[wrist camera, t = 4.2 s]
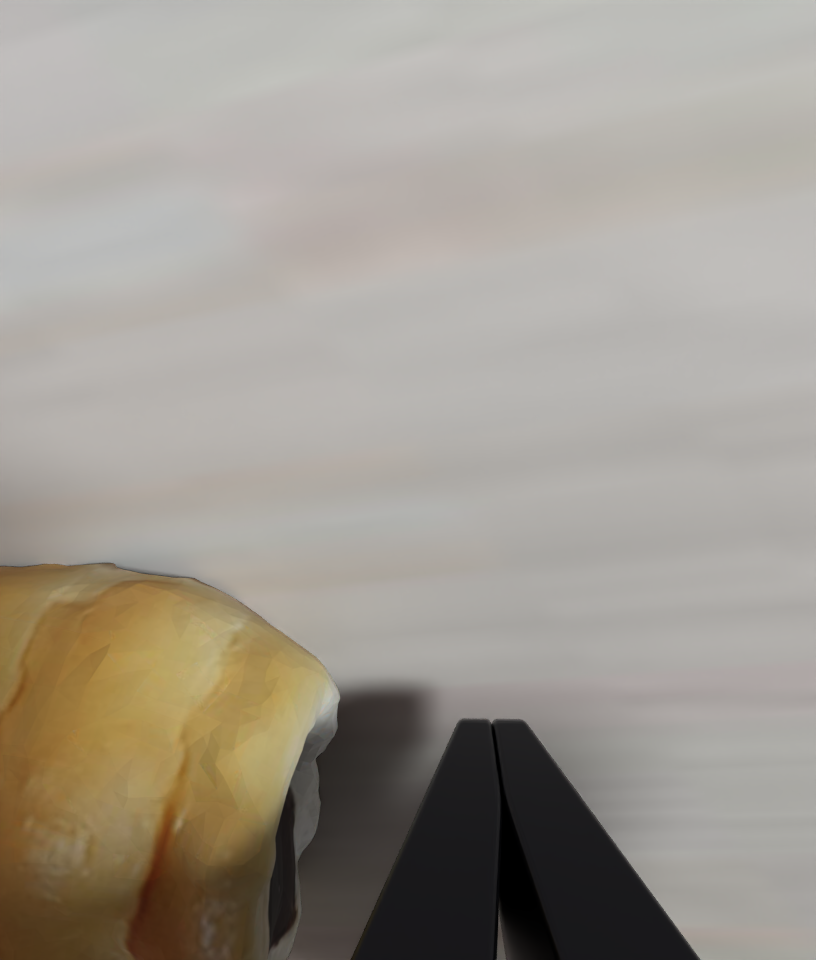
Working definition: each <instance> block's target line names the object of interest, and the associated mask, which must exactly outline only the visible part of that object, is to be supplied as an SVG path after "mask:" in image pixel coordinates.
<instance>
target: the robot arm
mask: <svg viewBox="0 0 816 960" xmlns="http://www.w3.org/2000/svg"><path fill="white" fill-rule="evenodd" d="M498 915H500V922H501V929H502V935H503V942H504V948H505V954H506V959H507V960H700V958H699V957H698V956H697V954H696V953H695V952H694V950H693V949H692V948H691V946H690V945H689V943H688V942H687V941H686V939H685V938H684V937H683V935H682V934H681V933H680V931H679V930H678V928H677V927H676V926H675V924H674V923H673V922H672V920H671V919H670V918H669V916H668V915H667V914H666V912H665V911H664V909H663V908H662V907H661V905H660V904H659V903H658V901H657V900H656V899H655V897H654V896H653V894H652V893H651V892H650V890H649V889H648V888H647V886H646V885H645V884H644V882H643V881H642V879H641V878H640V877H639V875H638V874H637V873H636V871H635V870H634V869H633V867H632V866H631V865H630V863H629V862H628V860H627V859H626V858H625V856H624V855H623V854H622V852H621V851H620V850H619V848H618V847H617V845H616V844H615V843H614V841H613V840H612V839H611V837H610V836H609V835H608V833H607V832H606V831H605V829H604V828H603V826H602V825H601V824H600V822H599V821H598V820H597V818H596V817H595V816H594V814H593V813H592V811H591V810H590V809H589V807H588V806H587V805H586V803H585V802H584V801H583V799H582V798H581V796H580V795H579V794H578V792H577V791H576V790H575V788H574V787H573V786H572V784H571V783H570V782H569V780H568V779H567V777H566V776H565V775H564V773H563V772H562V771H561V769H560V768H559V767H558V765H557V764H556V762H555V761H554V760H553V758H552V757H551V756H550V754H549V753H548V752H547V750H546V749H545V747H544V746H543V745H542V743H541V742H540V741H539V739H538V738H537V737H536V735H535V734H534V733H533V731H532V730H531V728H530V727H529V726H528V724H527V723H526V722H525V721H523V720H520V719H496V720H494V721H493V723H492V724H491V722H490V721H489V720H488V719H461V720H459V722H458V723H457V725H456V727H455V729H454V731H453V734H452V736H451V738H450V740H449V743H448V745H447V747H446V749H445V751H444V754H443V756H442V758H441V760H440V763H439V765H438V767H437V769H436V771H435V774H434V776H433V778H432V780H431V783H430V785H429V787H428V789H427V791H426V794H425V796H424V798H423V800H422V803H421V805H420V807H419V809H418V811H417V814H416V816H415V818H414V820H413V823H412V825H411V827H410V829H409V831H408V834H407V836H406V838H405V840H404V842H403V845H402V847H401V849H400V851H399V854H398V856H397V858H396V860H395V862H394V865H393V867H392V869H391V871H390V874H389V876H388V878H387V880H386V882H385V885H384V887H383V889H382V891H381V894H380V896H379V898H378V900H377V902H376V905H375V907H374V909H373V911H372V914H371V916H370V918H369V920H368V922H367V925H366V927H365V929H364V931H363V934H362V936H361V938H360V940H359V942H358V945H357V947H356V949H355V951H354V954H353V956H352V958H351V960H497V939H498Z"/></svg>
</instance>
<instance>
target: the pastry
mask: <svg viewBox="0 0 816 960" xmlns="http://www.w3.org/2000/svg"><path fill="white" fill-rule="evenodd" d="M339 700H340V695H339V690H338V688H337V686H336V685H335V683H334V681H333V679H332V677H331V676H330V674H329V673H328V671H327V670H326V668H325V667H324V665H323V664H322V663H321V662H320V661H319V660H318V659H317V658H316V657H315V656H314V655H312V654H311V653H310V652H308V651H307V650H306V649H304V648H303V647H301V646H300V645H299V644H297V643H296V642H294V641H293V640H292V639H290V638H289V637H288V636H286V635H285V634H283V633H282V632H281V631H279V630H278V629H276V628H274V627H273V626H271V625H270V624H269V623H268V622H267V621H265V620H264V619H263V618H262V617H261V616H259V615H258V614H256V613H255V612H254V611H252V610H251V609H249V608H248V607H247V606H245V605H244V604H242V603H241V602H239V601H237V600H236V599H234V598H233V597H231V596H229V595H227V594H225V593H223V592H222V591H220V590H218V589H216V588H214V587H211V586H209V585H207V584H204V583H202V582H200V581H198V580H196V579H195V578H172V577H165V576H158V575H149V574H141V573H137V572H132V571H128V570H123V569H120V568H117V567H116V565H115V564H113V563H103V564H88V565H75V566H64V565H59V564H42V565H36V566H27V567H7V566H1V567H0V960H286V959H287V957H288V956H289V954H290V952H291V949H292V946H293V943H294V939H295V935H296V932H297V928H298V924H299V921H300V917H301V913H302V906H301V896H300V882H299V874H298V860H299V858H300V856H301V853H302V851H303V850H304V849H305V848H306V847H307V845H308V844H309V843H310V842H311V841H312V839H313V837H314V835H315V833H316V829H317V826H318V820H319V812H320V806H321V801H320V798H319V793H318V789H319V773H318V767H317V764H316V758H317V757H318V756H319V755H320V754H321V753H322V752H324V751H325V749H326V747H327V745H328V743H329V742H330V741H331V740H332V738H333V737H334V735H335V733H336V730H337V728H338V723H337V709H338V703H339Z"/></svg>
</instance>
